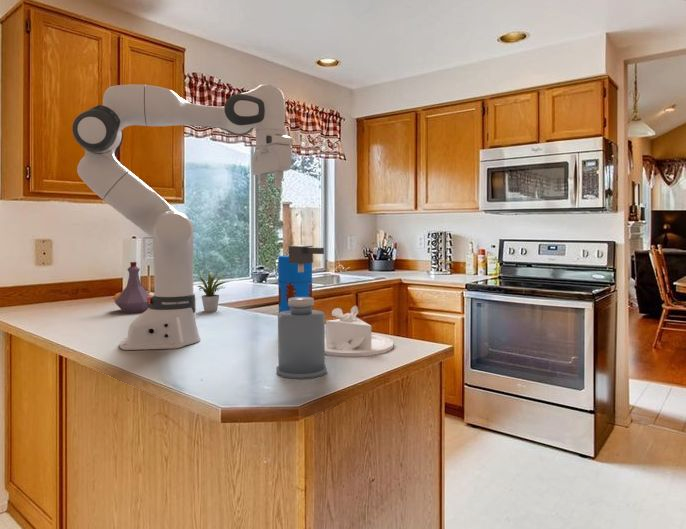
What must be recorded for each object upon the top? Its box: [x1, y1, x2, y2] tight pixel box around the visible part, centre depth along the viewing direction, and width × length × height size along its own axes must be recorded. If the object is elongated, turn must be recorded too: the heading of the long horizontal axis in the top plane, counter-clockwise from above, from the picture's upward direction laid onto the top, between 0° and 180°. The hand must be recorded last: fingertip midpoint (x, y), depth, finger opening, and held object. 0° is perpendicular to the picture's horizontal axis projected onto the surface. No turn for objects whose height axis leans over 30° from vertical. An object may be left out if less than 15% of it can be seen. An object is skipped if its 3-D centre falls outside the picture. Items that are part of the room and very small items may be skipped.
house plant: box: [196, 271, 230, 313], centre depth 206 cm, size 14×14×16 cm
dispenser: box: [275, 297, 328, 380], centre depth 120 cm, size 12×12×18 cm
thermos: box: [277, 254, 313, 313], centre depth 164 cm, size 11×11×25 cm
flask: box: [114, 261, 152, 314], centre depth 208 cm, size 16×16×20 cm
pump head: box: [288, 244, 325, 272], centre depth 118 cm, size 8×4×6 cm, turn 52°
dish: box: [325, 305, 395, 357], centre depth 147 cm, size 25×25×11 cm
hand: (270, 188), depth 153 cm, fingers open, 8 cm apart
